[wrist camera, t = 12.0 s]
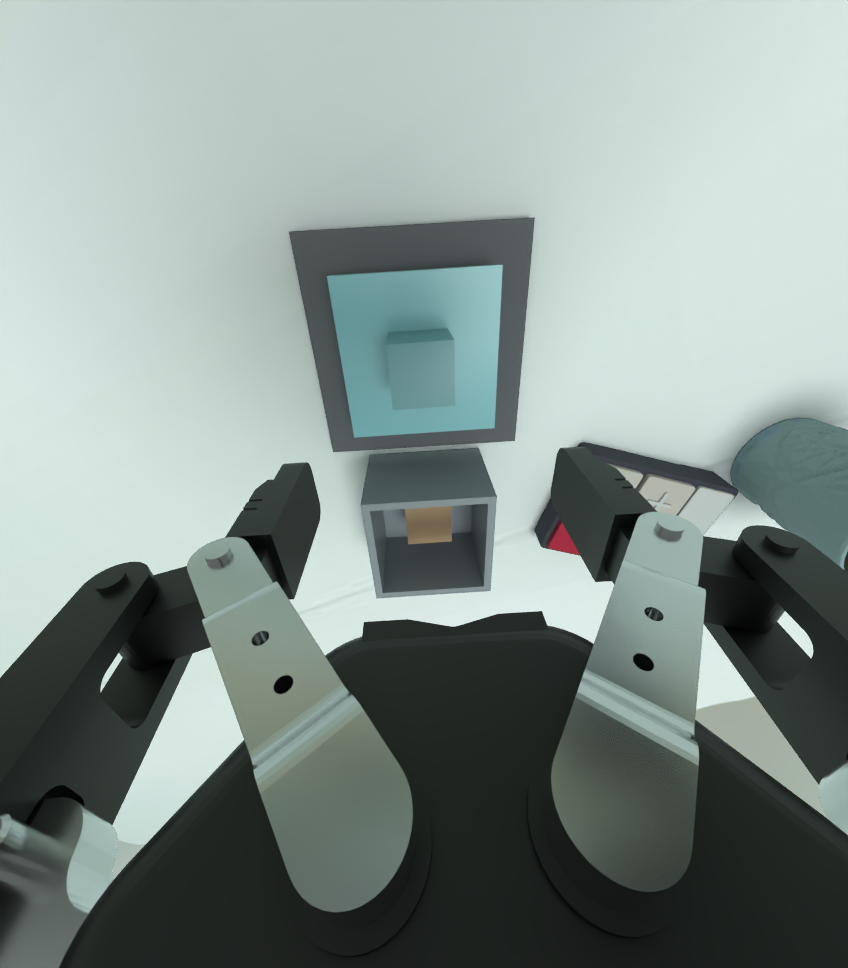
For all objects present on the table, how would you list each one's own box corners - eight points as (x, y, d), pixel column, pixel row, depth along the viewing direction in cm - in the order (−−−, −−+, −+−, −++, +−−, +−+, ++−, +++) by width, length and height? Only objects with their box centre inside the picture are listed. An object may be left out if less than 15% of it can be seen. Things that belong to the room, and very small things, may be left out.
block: (404, 483, 35) (404, 508, 31) (447, 481, 35) (451, 505, 31) (408, 517, 37) (408, 544, 34) (447, 515, 37) (451, 541, 34)
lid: (334, 274, 25) (312, 279, 20) (494, 263, 25) (519, 266, 20) (358, 424, 31) (347, 461, 25) (487, 415, 31) (506, 451, 25)
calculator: (594, 457, 31) (747, 495, 33) (576, 436, 35) (715, 471, 36) (541, 552, 37) (675, 580, 38) (530, 526, 40) (653, 552, 42)
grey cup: (755, 514, 39) (877, 605, 29) (699, 471, 36) (814, 556, 26) (854, 442, 35) (1037, 518, 25) (800, 385, 32) (985, 446, 22)
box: (369, 454, 34) (360, 505, 27) (478, 447, 34) (496, 496, 27) (381, 538, 39) (376, 598, 32) (475, 532, 39) (490, 590, 32)
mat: (292, 232, 25) (289, 231, 24) (530, 218, 25) (534, 217, 24) (335, 447, 33) (333, 452, 32) (511, 435, 33) (514, 440, 32)
